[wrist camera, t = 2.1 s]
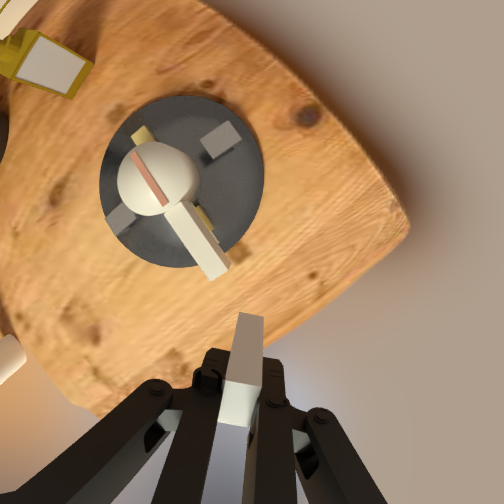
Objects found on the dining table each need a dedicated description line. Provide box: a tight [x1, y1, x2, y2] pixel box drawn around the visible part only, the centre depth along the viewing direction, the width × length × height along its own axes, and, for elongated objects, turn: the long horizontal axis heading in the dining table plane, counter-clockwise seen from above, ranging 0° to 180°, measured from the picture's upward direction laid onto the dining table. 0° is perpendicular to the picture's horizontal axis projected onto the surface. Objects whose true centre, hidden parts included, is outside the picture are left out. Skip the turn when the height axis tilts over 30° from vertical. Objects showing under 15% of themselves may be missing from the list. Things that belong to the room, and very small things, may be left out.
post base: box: [99, 96, 264, 268], centre depth 34 cm, size 24×24×4 cm
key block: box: [117, 125, 231, 282], centre depth 31 cm, size 22×8×8 cm, turn 34°
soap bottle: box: [0, 0, 94, 100], centre depth 20 cm, size 7×13×24 cm, turn 146°
